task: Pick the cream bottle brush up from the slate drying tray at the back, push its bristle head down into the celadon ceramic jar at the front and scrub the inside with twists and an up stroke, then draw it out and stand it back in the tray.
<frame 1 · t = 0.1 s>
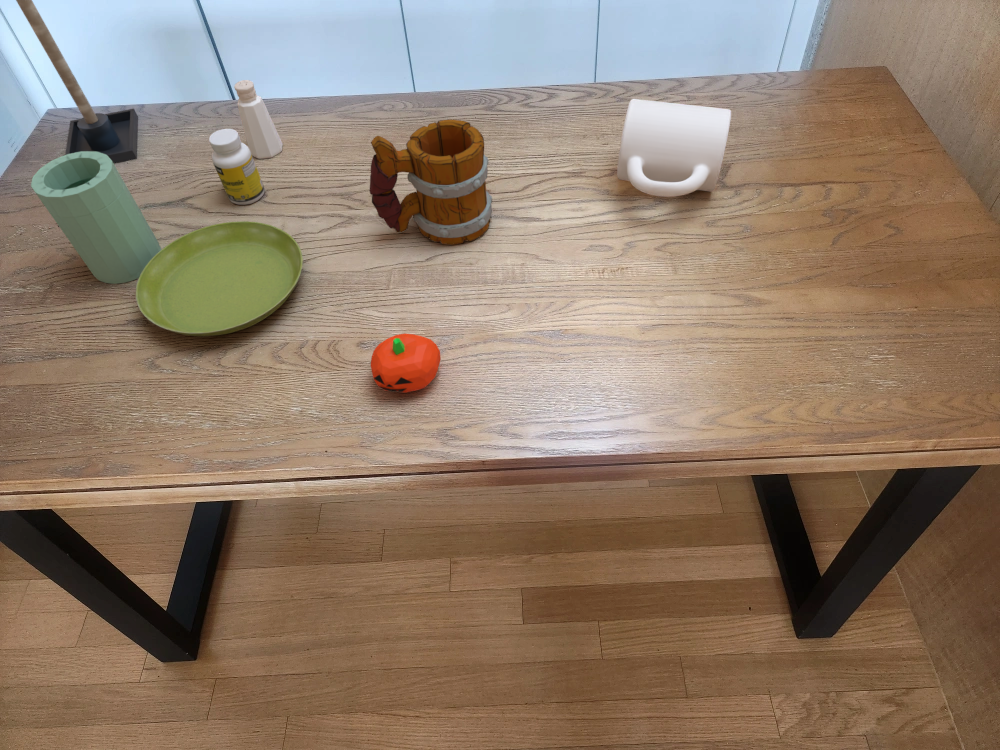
jar: (127, 260, 91), on the table
pumpkin: (409, 377, 77), on the table
saucer: (229, 291, 87), on the table
drying tray: (106, 146, 109), on the table
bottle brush: (105, 143, 108), resting on drying tray
mug 2: (437, 226, 93), on the table
supplement bottle: (247, 196, 99), on the table
mug: (663, 190, 96), on the table
salt shaker: (267, 150, 107), on the table
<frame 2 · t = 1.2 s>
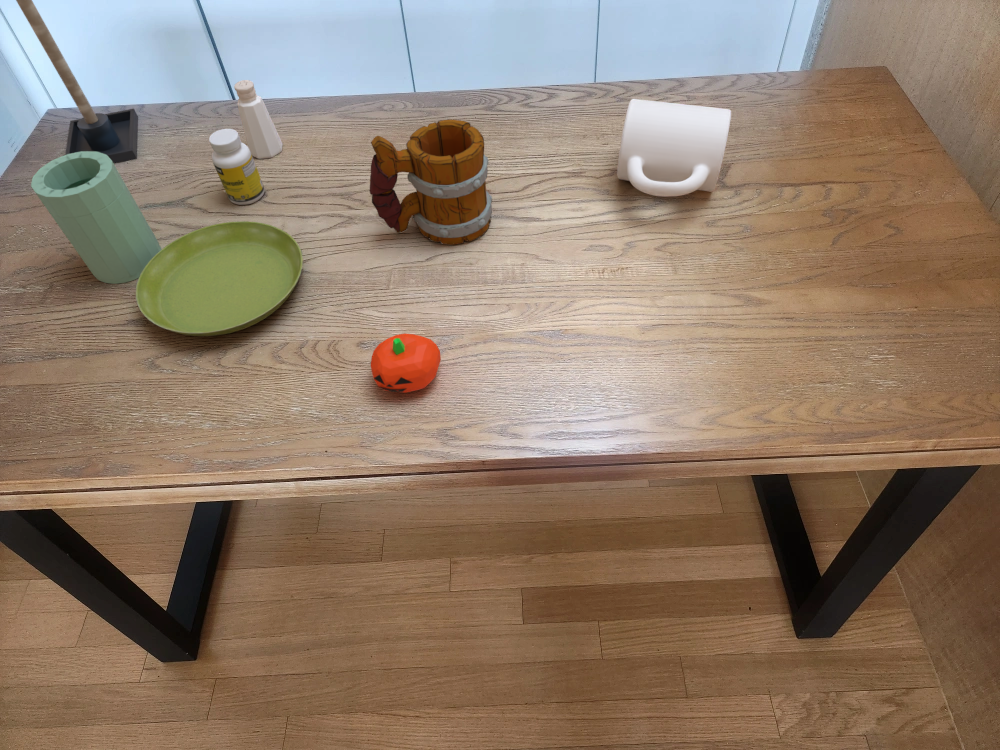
nothing on the table moved.
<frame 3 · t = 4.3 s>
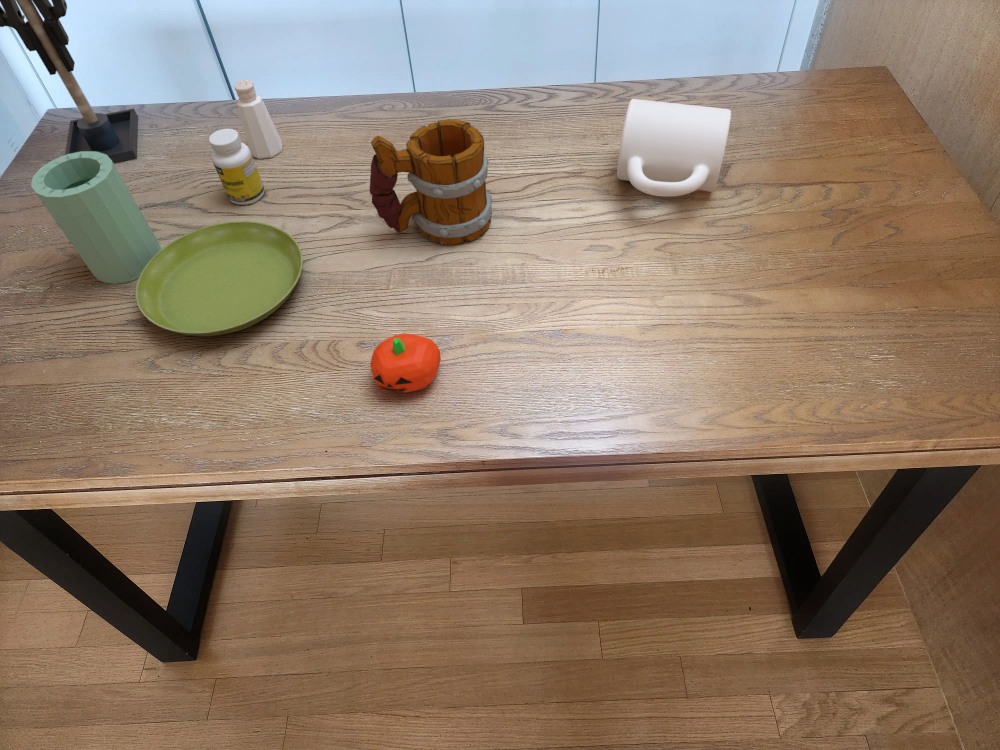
hand: (62, 68, 99), 13 cm above the table, tool pointing down, fingers closed on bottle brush, 2 cm apart
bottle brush: (104, 143, 108), point 1 cm above the table, touching gripper
everything else where it was.
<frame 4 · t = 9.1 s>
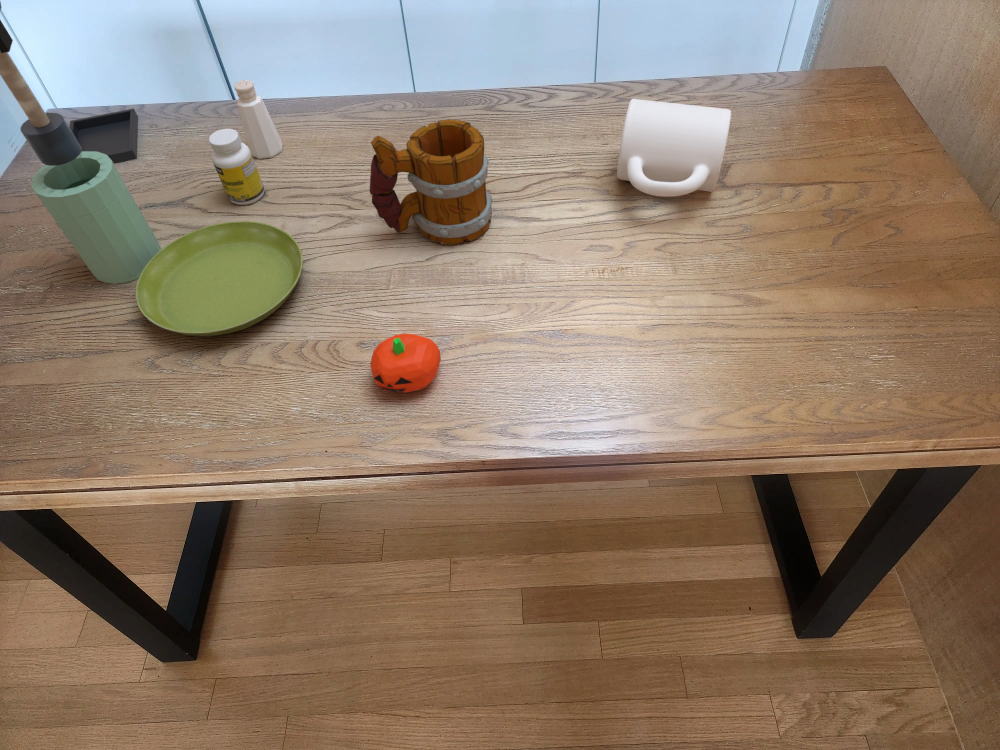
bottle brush: (61, 154, 78), point 16 cm above the table, touching gripper
everything else where it was.
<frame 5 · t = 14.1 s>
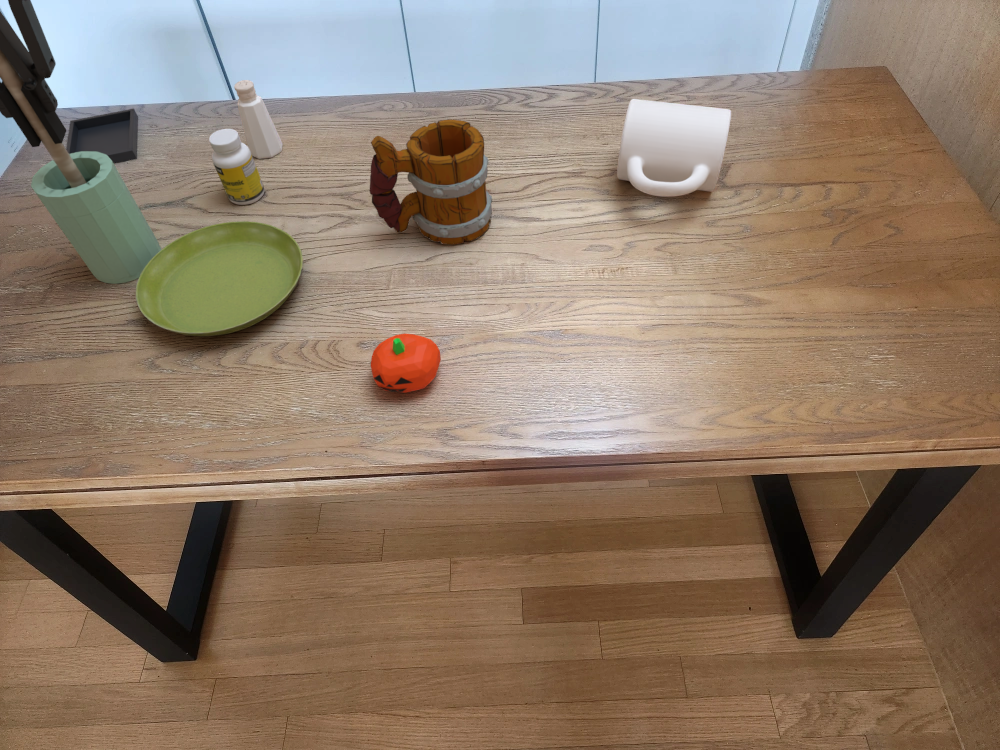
hand: (49, 138, 76), 19 cm above the table, tool pointing down, fingers closed on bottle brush, 2 cm apart
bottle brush: (104, 224, 86), point 6 cm above the table, touching gripper
everything else where it was.
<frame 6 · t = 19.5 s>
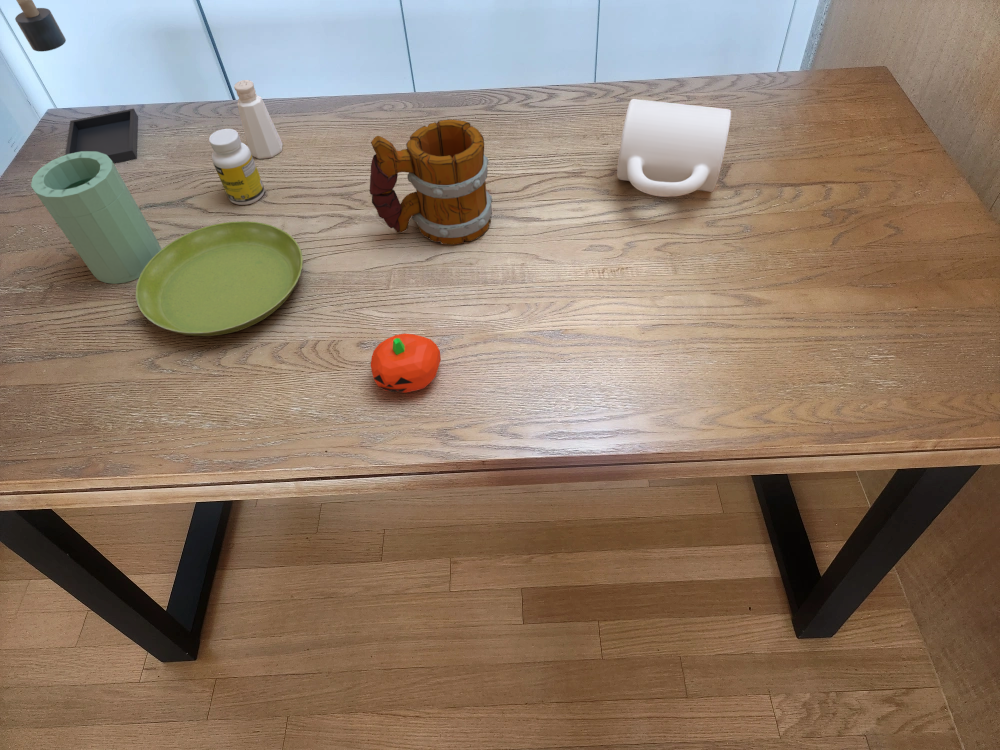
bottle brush: (49, 43, 96), point 17 cm above the table, touching gripper
everything else where it was.
when the fingers open (13 cm above the table, at t = 23.9 s): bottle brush stays where it is, resting on drying tray.
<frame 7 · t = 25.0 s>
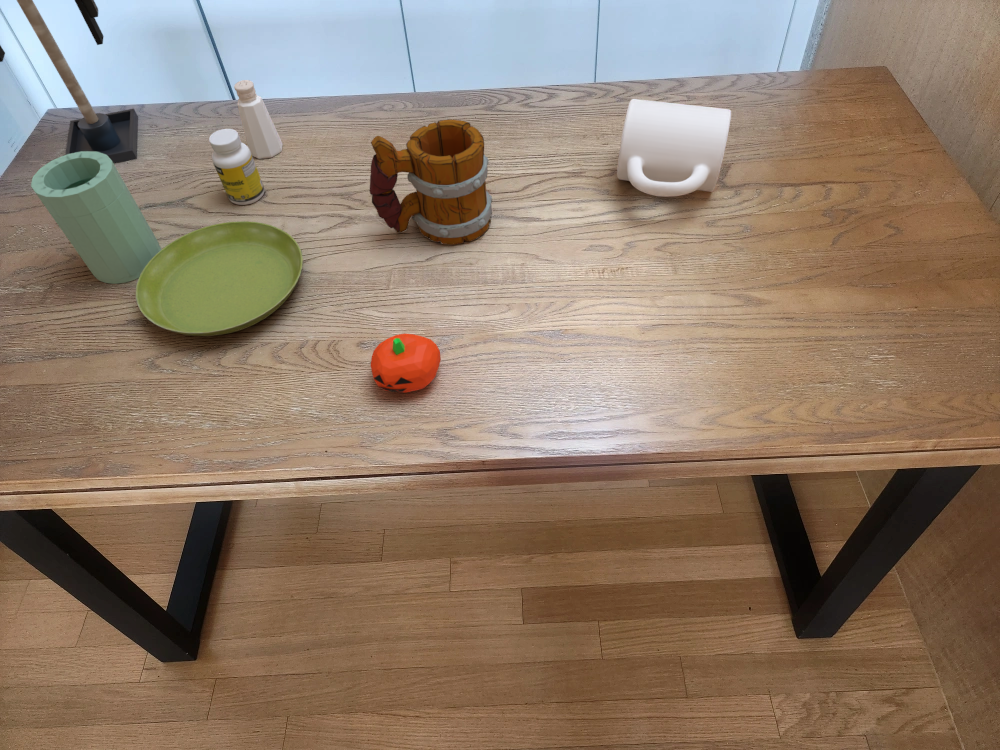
hand: (51, 49, 96), 16 cm above the table, tool pointing down, fingers open, 13 cm apart
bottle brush: (105, 143, 108), resting on drying tray
everything else where it was.
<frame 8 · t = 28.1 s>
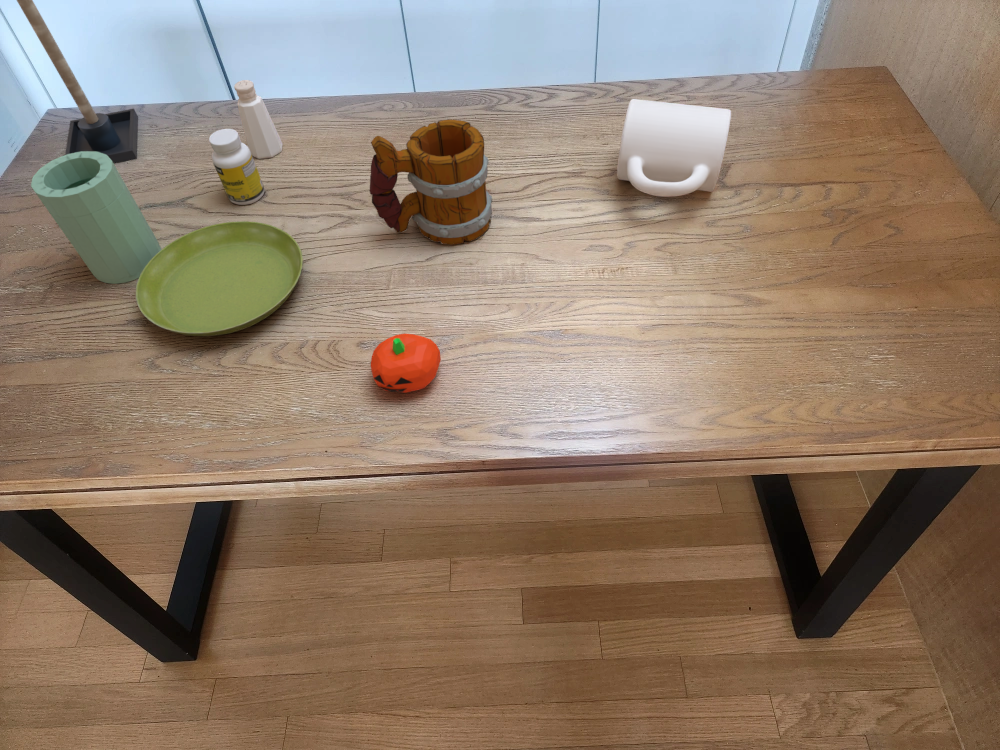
nothing on the table moved.
at the end: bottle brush inside the target area in the drying tray (0.1 cm from its centre), point 0.5 cm above the drying tray's base; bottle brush tilted 0°; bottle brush touching drying tray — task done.
